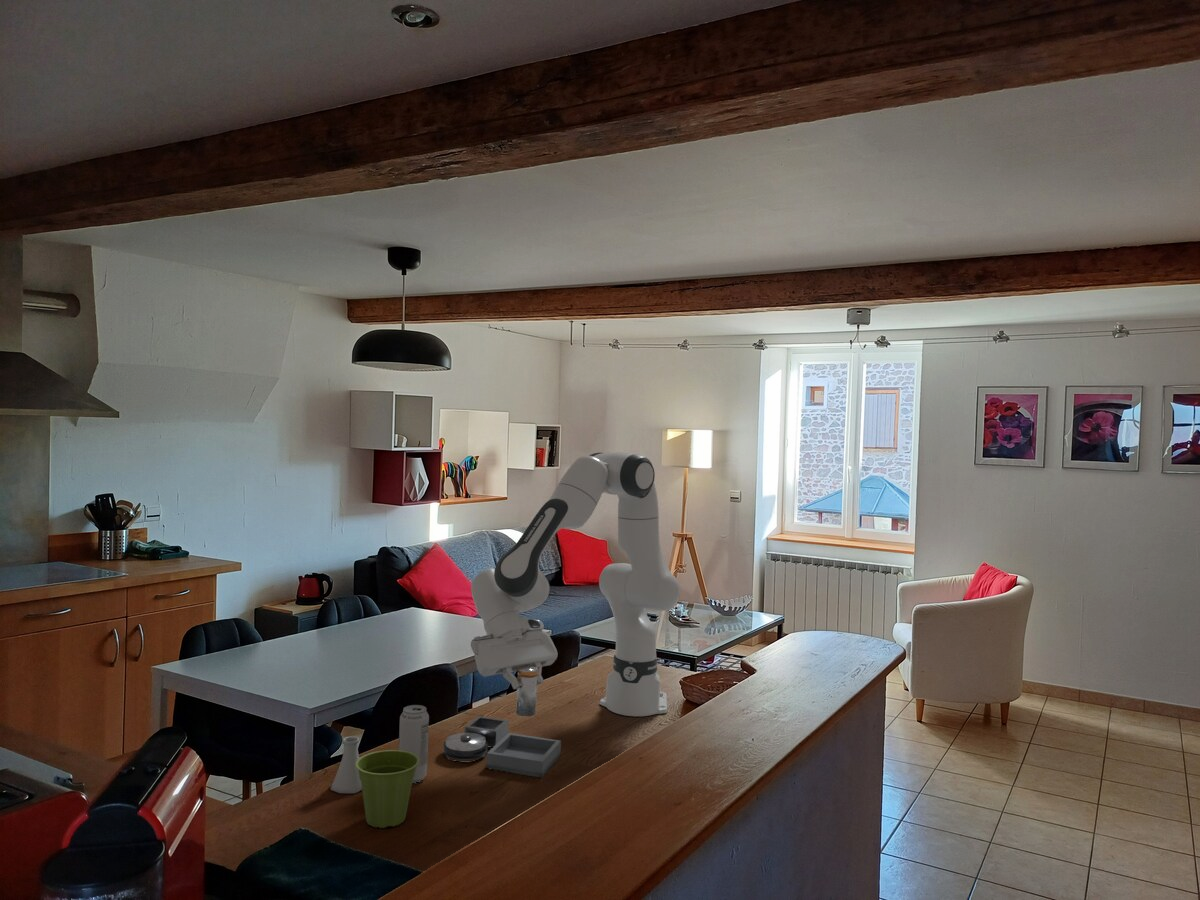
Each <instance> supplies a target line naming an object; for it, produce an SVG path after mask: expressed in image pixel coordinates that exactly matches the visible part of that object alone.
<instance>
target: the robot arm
mask: <svg viewBox="0 0 1200 900" xmlns="http://www.w3.org/2000/svg"><path fill="white" fill-rule="evenodd" d="M655 476H656V474H655V469H654V466H653V464H652V462H651V460H650V459H649V458H647V457H645V456H643V455H640V454H635V453H634V454H631V453H627V452H620V451H619V452H618V451H616V452H594V453H591V454H588V455H581V456H579V457H578V458H576V459H575V460H574V462H572V464H571V465H570V466H569V468H568V469H567V470H566V472H564V475H562V477H561V479H560V481H559V483H558V484H557V486H556V487H555V490H554V491H553V492H552V494H551V496H550V498H549V499H548V500H547V501H546V502H544V504H543V505H542V506H541V507H540V509H539V510H538V512H537V513H535V515H534V517H533V519H532V520H531V522H530V523H529V524H528V526H527V528H526V529H525V531H524V532H523V533H522V535H521V536H520V538H519V540H518V541H517V542H516V543H515V544H514V545H513V546H512V547H511V548H510V549H509V550H508V551H506V552H505V554H503V555H502V556H500V558H499V560H498V561H497V563H496V564H495V568H492V567H491V568H486V569H484V570H482V571H481V572H479V573H478V574H477V575H476V576H475V577H474V578H473V580H472V582H471V585H470V590H471V596H472V600H473V603H474V607H475V608H476V612H477V614H478V616H479V617H480V618H481V620H482V622H483V629H484V631H485V633H486V635H481V636H480V635H479V636H475V637H474V638H473V639H472V640H471V642H470V648H471V651H472V653H473V654H474V660H475V664H476V668H477V671H478V674H480V675H481V676H482V677H490V676H495V675H496V676H497V675H500V674H502V676H503V678H504V679H505V680H506V681H508V682H509V683H510V684H511V687H512V689H513V690H517V689H518V688H520V687H521V686H522V682H521V680H520V678H518V677H516V676H515V675H514V674H513V673H514V672H518V668H519V667H522V666H533V667H536V668H538V677H537V686H538V685H541V684H543V682H544V678H543V676H542V671H543V669H542V668H543V667H547V666H551V665H553V664H554V663H555V661H556V660H557V658H558V654H559V653H558V650H557V648H556V646H555V644H554V641H553V639H552V638H551V637H550V635H549V634H548V632H546V631H545V630H543V629H545V626H544V623H543V622H542V620H539V619H533V618H528V617H525V616H521V614H522V613H526V612H529V611H531V610H534V609H537V608H539V607H541V606H542V605H544V604H545V602H546V601H547V599H548V598H549V595H550V591H551V586H550V582H549V580H548V578H546V575H545V574H544V572H543V571H542V570H541V569H540V559H541V556H542V555H543V554H544V552H545V550H546V548H547V547H548V546H549V544H550V542H551V541H552V539H553V538H554V536H555V535H556V534H557V532H559V530H561V529H566V530H577V529H579V528H581V527H583V526H585V524H586V523H587V522H588V520H589V519H591V516H592V515H593V513H594V511H595V510H596V507H597V505H598V503H599V502H600V499H601V497H602V495H603V494H608V495H614V496H617V497H618V504H617V542H618V546H619V547H620V549H621V551H623V553H624V554H625V555H626V556H627V558H628V561H629V563H626V562H617V563H610V564H608V565H606V566H605V567H604V568H603V569H602V571H601V573H600V575H599V578H598V586H599V591H600V592H601V594H602V595H603V596H604V597H605V599H606V600H607V602H608V604H609V606H610V608H611V612H612V614H613V615H612V616H613V620H614V624H615V625H614V626H615V654H614V655H613V660H612V668H613V670H612V672H610V673H609V674H608V675H607V679H606V687H605V688H606V691H605V696H604V697H603V698H601V699H600V700H599V705H601V706H603V707H604V708H605V707H606V709H608V711H611V712H613V713H615V714H618V715H621V716H628V717H649V716H652V715H659V714H667V713H668V697H667V693H666V692H664V691H661V678H660V675H659V673H658V672H657V671H658V665H659V664H658V658H657V637H658V636H657V635H658V632H657V629H656V627H655V625H654V623H653V622H652V620H651V619H649V616H648V614H647V612H646V611H647V610H648V611H651V612H652V611H653V612H667V611H670V610H672V609H673V608H675V606H676V605H677V604H678V601H679V599H680V596H681V585H680V583H679V581H678V579H677V578H676V577H675V575H674V574H673V573H672V572H671V571H670V568H669V567H668V566H667V563H666V561H665V558H664V555H663V551H662V549H661V543H660V542H661V541H660V526H659V519H660V517H659V513H660V512H659V502H658V494H657V489H656V484H655Z"/></svg>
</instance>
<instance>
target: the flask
mask: <svg viewBox="0 0 1200 900" xmlns="http://www.w3.org/2000/svg"><path fill="white" fill-rule="evenodd" d="M359 741H360V737H358V736H346V737H344V738H343V739H342V744H344V745H343V752H342V756H341V757H342V758H341V760H340V763H339V766H338V768H337V772H336V775H335V777H334V779H333V782H332V785H331V786H330V791H333V792H335V793H338V794H356V793H358V792H360V791H362V785H361V780H360V778H359V771H358V769H357V768H356V766H355V763H356V761H357V760H358V759H359V758H360V756H359V749H358V748H359V747H358V744H359Z"/></svg>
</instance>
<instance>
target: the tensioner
mask: <svg viewBox="0 0 1200 900" xmlns="http://www.w3.org/2000/svg"><path fill="white" fill-rule="evenodd" d="M509 722H510V721H509V719H502V718H497V717H496V718H495V717H489V716H481V715H477V716H476V717H475V718H474V719H473V720H471V721H470V722H469V723H468V724H466V725H465V726H464V732H459V733H454V734H451V735H448V736H447V737H446V739H445V740H444V741H443V747H442V753H443V754H444V755H446V756H445V758H446V757H447V758H449V759H452V760H456V761H473V760H477V759H480V758H482V757H483V756H484V755H487V752H488V748H489V747H488V746H491V747H494V746H495V745H496V744H497V743H498V742H499V741H500V740H501V739H502V738H504V737H505V736H506V735H507V734H508V733H509V728H510V727H509V724H510V723H509ZM484 757H485V756H484ZM484 757H483V758H484ZM447 758H446V759H447ZM483 758H482V759H483ZM449 759H448V760H449ZM480 760H481V759H480Z"/></svg>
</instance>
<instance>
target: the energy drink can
mask: <svg viewBox="0 0 1200 900" xmlns="http://www.w3.org/2000/svg"><path fill="white" fill-rule="evenodd" d="M429 725H430V714H429V713H428V711H427V707H426V706H424V705H421V704H411V705H407V706H405V707H403V710H402V713H401V714H400V716H399V728H398V729H399V731H398V735H399V736H398V750H400V751H407V752H411V753H414V754H416V755H417V756H418V757H419V759H420V762H419V764H418V766H417V767H416V770H415V775H414V777H413V781H412V783H415V784H417V783H416V782H419V783H421V782H422V781H421V780H423V779H424V778H425V777H426V776H427V773H428V750H429V748H428V746H429V729H430V728H429ZM420 781H421V782H420ZM423 781H424V780H423Z"/></svg>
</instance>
